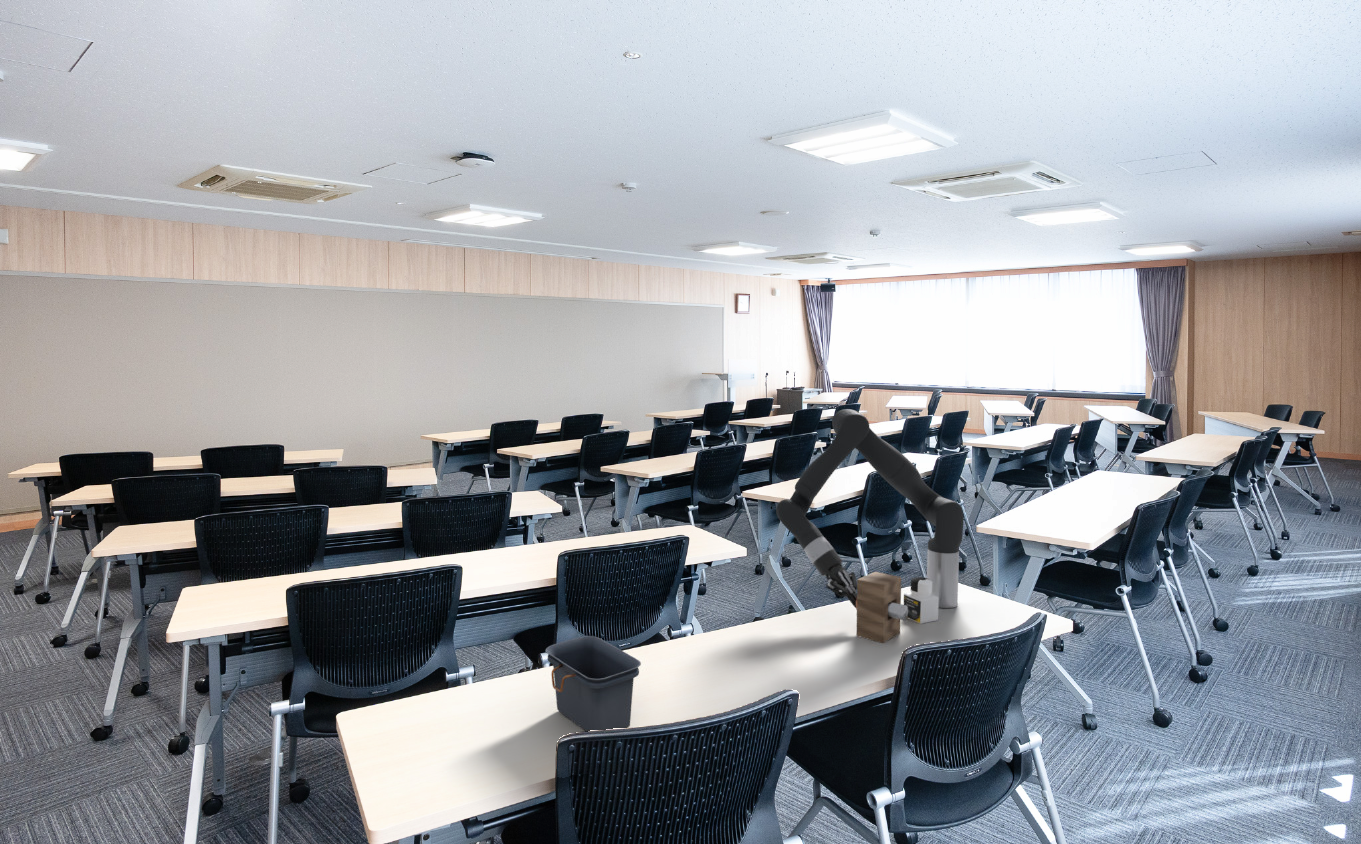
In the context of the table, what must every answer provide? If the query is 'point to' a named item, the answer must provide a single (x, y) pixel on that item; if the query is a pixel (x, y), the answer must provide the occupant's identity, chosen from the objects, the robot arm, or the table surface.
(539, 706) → the table surface
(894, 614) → the pin
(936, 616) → the medicine bottle
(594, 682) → the storage bin
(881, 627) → the post
